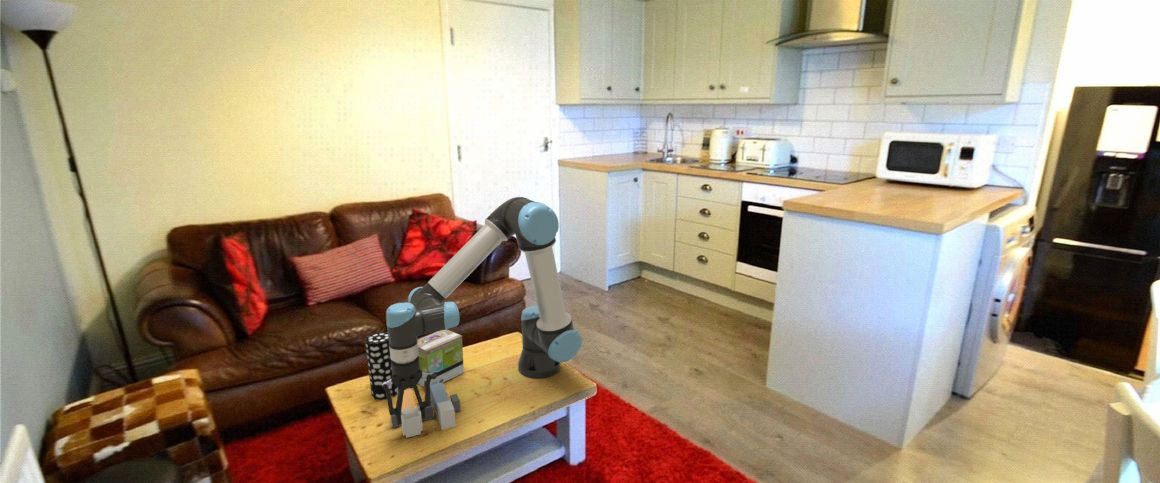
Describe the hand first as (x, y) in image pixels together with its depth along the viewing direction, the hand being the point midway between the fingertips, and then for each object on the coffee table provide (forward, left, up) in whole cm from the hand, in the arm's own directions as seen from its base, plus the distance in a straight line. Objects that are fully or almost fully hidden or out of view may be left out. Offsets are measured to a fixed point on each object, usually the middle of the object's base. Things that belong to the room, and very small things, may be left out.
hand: (412, 430), depth 154 cm
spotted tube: (+5, -26, -1) cm, 26 cm away
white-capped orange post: (0, -6, 0) cm, 6 cm away
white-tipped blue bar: (-10, -7, -1) cm, 12 cm away
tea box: (-13, -29, -1) cm, 31 cm away
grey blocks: (-5, -7, -1) cm, 8 cm away
